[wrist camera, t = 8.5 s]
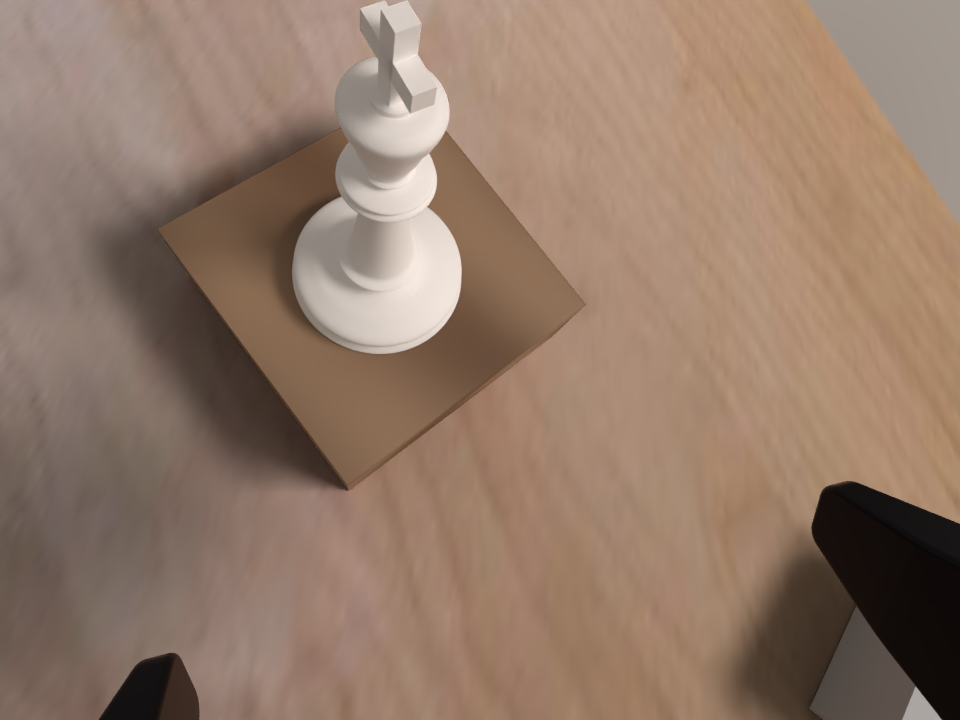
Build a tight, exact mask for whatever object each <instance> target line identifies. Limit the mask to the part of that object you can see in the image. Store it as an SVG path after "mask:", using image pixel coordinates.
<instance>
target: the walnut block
mask: <svg viewBox="0 0 960 720" xmlns="http://www.w3.org/2000/svg"><path fill="white" fill-rule="evenodd" d="M348 143H349V141H348V140H347V138H346V136H345V135H344V133H343V131H342V129H341V128H340V129H338V130H336V131H334V132H332V133H331V134H329V135H327V136H325V137H323V138H321V139H320V140H318V141H316V142H314V143H312V144H311V145H309V146H307V147H305V148H303V149H301V150H300V151H298V152H296V153H294V154H292V155H291V156H289V157H287V158H285V159H283V160H281V161H280V162H278V163H276V164H274V165H272V166H271V167H269V168H267V169H265V170H263V171H261V172H260V173H258V174H256V175H254V176H252V177H251V178H249V179H247V180H245V181H243V182H241V183H240V184H238V185H236V186H234V187H232V188H231V189H229V190H227V191H225V192H223V193H222V194H220V195H218V196H216V197H214V198H212V199H211V200H209V201H207V202H205V203H203V204H202V205H200V206H198V207H196V208H194V209H192V210H191V211H189V212H187V213H185V214H183V215H182V216H180V217H178V218H176V219H174V220H172V221H171V222H169V223H167V224H165V225H163V226H162V227H160V228H158V229H157V230H158V231H159V233H160V234H161V236H162V237H163V239H164V240H165V242H166V243H167V245H168V246H169V248H170V249H171V250H172V252H173V253H174V255H175V256H176V258H177V259H178V261H179V262H180V264H181V265H182V267H183V268H184V270H185V271H186V273H187V274H188V275H189V277H190V278H191V280H192V281H193V282H194V284H195V285H196V286H197V288H198V289H199V290H200V292H201V293H202V294H203V296H204V297H205V298H206V300H207V301H208V302H209V304H210V305H211V306H212V308H213V309H214V310H215V312H216V313H217V315H218V316H219V317H220V319H221V320H222V321H223V323H224V324H225V325H226V327H227V328H228V329H229V331H230V332H231V333H232V335H233V336H234V337H235V339H236V340H237V341H238V343H239V344H240V345H241V347H242V348H243V349H244V351H245V352H246V354H247V355H248V356H249V358H250V359H251V360H252V362H253V363H254V364H255V366H256V367H257V368H258V370H259V371H260V372H261V374H262V375H263V376H264V378H265V379H266V380H267V382H268V383H269V384H270V386H271V387H272V388H273V390H274V391H275V393H276V394H277V395H278V397H279V398H280V399H281V401H282V402H283V403H284V405H285V406H286V407H287V409H288V410H289V411H290V413H291V414H292V415H293V417H294V418H295V419H296V421H297V422H298V423H299V425H300V426H301V428H302V429H303V430H304V432H305V433H306V434H307V436H308V437H309V438H310V440H311V441H312V442H313V444H314V445H315V446H316V448H317V449H318V450H319V452H320V453H321V454H322V456H323V457H324V458H325V460H326V461H327V462H328V464H329V465H330V467H331V468H332V469H333V471H334V472H335V473H336V475H337V476H338V477H339V479H340V480H341V481H342V483H343V484H344V485H345V487H346V488H347V489H348V491H349V490H351V489H352V488H353V487H355V486H356V485H357V484H359V483H360V482H361V481H363V480H364V479H365V478H366V477H368V476H369V475H370V474H372V473H373V472H374V471H376V470H377V469H378V468H380V467H381V466H382V465H384V464H385V463H386V462H388V461H389V460H390V459H391V458H393V457H394V456H395V455H397V454H398V453H399V452H401V451H402V450H403V449H405V448H406V447H407V446H409V445H410V444H411V443H413V442H414V441H415V440H416V439H418V438H419V437H420V436H422V435H423V434H424V433H426V432H427V431H428V430H430V429H431V428H432V427H434V426H435V425H436V424H438V423H439V422H440V421H441V420H443V419H444V418H445V417H447V416H448V415H449V414H451V413H452V412H453V411H455V410H456V409H457V408H459V407H460V406H461V405H463V404H464V403H465V402H466V401H468V400H469V399H470V398H472V397H473V396H474V395H476V394H477V393H478V392H480V391H481V390H482V389H484V388H485V387H486V386H488V385H489V384H490V383H491V382H493V381H494V380H495V379H497V378H498V377H499V376H501V375H502V374H503V373H505V372H506V371H507V370H509V369H510V368H511V367H513V366H514V365H515V364H516V363H518V362H519V361H520V360H522V359H523V358H524V357H526V356H527V355H528V354H530V353H531V352H532V351H534V350H535V349H536V348H538V347H539V346H540V345H541V344H543V343H544V342H545V341H547V340H548V339H549V338H551V337H552V336H553V335H554V334H555V333H556V332H557V331H558V330H559V329H561V328H562V327H563V326H564V325H565V324H566V323H567V322H568V321H569V320H570V319H571V318H572V317H573V316H574V315H575V314H576V313H577V312H578V311H579V310H581V309H582V308H583V307H584V306H585V305H586V304H585V303H584V301H583V300H582V299H581V298H580V296H579V295H578V294H577V293H576V291H575V290H574V289H573V288H572V286H571V285H570V284H569V283H568V281H567V280H566V279H565V278H564V277H563V275H562V274H561V273H560V272H559V270H558V269H557V268H556V267H555V265H554V264H553V263H552V262H551V260H550V259H549V258H548V257H547V255H546V254H545V253H544V252H543V250H542V249H541V248H540V247H539V246H538V244H537V243H536V242H535V241H534V239H533V238H532V237H531V236H530V234H529V233H528V232H527V231H526V229H525V228H524V227H523V226H522V224H521V223H520V222H519V221H518V219H517V218H516V217H515V216H514V215H513V213H512V212H511V211H510V210H509V208H508V207H507V206H506V205H505V203H504V202H503V201H502V200H501V198H500V197H499V196H498V195H497V193H496V192H495V191H494V190H493V189H492V187H491V186H490V185H489V184H488V182H487V181H486V180H485V179H484V177H483V176H482V175H481V174H480V172H479V171H478V170H477V169H476V167H475V166H474V165H473V164H472V162H471V161H470V160H469V159H468V158H467V156H466V155H465V154H464V153H463V151H462V150H461V149H460V148H459V146H458V145H457V144H456V143H455V141H454V140H453V139H452V138H451V136H450V135H449V134H448V133H447V131H445V133H444V135H443V137H442V138H441V140H440V141H439V142H438V144H437V145H436V146H435V147H434V148H433V150H432V151H431V152H430V153H429V154H430V156H431V158H432V160H433V163H434V166H435V169H436V174H437V187H436V192H435V195H434V197H433V199H432V201H431V202H430V204H429V205H428V206H427V207H428V208H429V209H431V210H432V211H433V212H434V213H435V214H436V215H437V216H438V217H439V218H440V219H441V220H442V221H443V222H444V223H445V225H446V226H447V227H448V229H449V230H450V232H451V234H452V236H453V237H454V239H455V242H456V244H457V247H458V250H459V254H460V258H461V266H462V276H461V289H460V295H459V298H458V302H457V304H456V307H455V309H454V311H453V313H452V315H451V316H450V318H449V319H448V321H447V322H446V323H445V325H444V326H443V327H442V328H441V329H440V330H439V331H438V332H437V333H436V334H435V335H434V336H432V337H431V338H430V339H428V340H427V341H425V342H423V343H422V344H420V345H418V346H415V347H413V348H411V349H408V350H405V351H401V352H396V353H389V354H370V353H363V352H358V351H355V350H351V349H348V348H346V347H343V346H341V345H339V344H337V343H335V342H333V341H332V340H330V339H329V338H327V337H326V336H324V335H323V334H322V333H321V332H320V331H318V330H317V329H316V328H315V327H314V326H313V324H312V323H311V322H310V321H309V320H308V318H307V317H306V316H305V314H304V312H303V311H302V309H301V307H300V305H299V303H298V300H297V298H296V295H295V291H294V287H293V280H292V266H293V258H294V251H295V247H296V244H297V241H298V238H299V236H300V234H301V232H302V230H303V228H304V227H305V225H306V224H307V222H308V221H309V220H310V219H311V217H312V216H313V215H314V214H315V213H316V212H317V211H318V210H320V209H321V208H322V207H323V206H325V205H326V204H328V203H329V202H331V201H333V200H335V199H337V198H339V197H341V194H340V192H339V190H338V187H337V184H336V178H335V171H336V164H337V161H338V158H339V156H340V154H341V153H342V151H343V149H344V148H345V146H346V145H347V144H348Z"/></svg>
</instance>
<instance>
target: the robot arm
mask: <svg viewBox="0 0 960 720" xmlns="http://www.w3.org/2000/svg"><path fill="white" fill-rule="evenodd" d="M811 529H812V535H813V538H814V541H815V543H816V545H817V546H818V548H819V549H820V551H821V552H822V554H823V555H824V557H825V558H826V560H827V561H828V563H829V565H830V566H831V568H832V569H833V571H834V572H835V574H836V575H837V577H838V578H839V580H840V581H841V583H842V584H843V586H844V588H845V589H846V591H847V592H848V594H849V595H850V597H851V598H852V600H853V601H854V603H855V604H856V606H857V608H858V609H859V611H860V612H861V614H862V615H863V617H864V618H865V620H866V621H867V623H868V624H869V626H870V627H871V629H872V630H873V631H874V633H875V634H876V636H877V637H878V638H879V640H880V641H881V642H882V644H883V645H884V646H885V648H886V649H887V650H888V652H889V653H890V654H891V656H892V657H893V658H894V659H895V661H896V662H897V663H898V665H899V666H900V667H901V668H902V670H903V671H904V672H905V673H906V675H907V676H908V677H909V679H910V680H911V681H912V682H913V684H914V685H915V686H916V688H917V689H918V690H919V691H920V693H921V694H922V695H923V696H924V698H925V699H926V700H927V702H928V703H929V704H930V705H931V707H932V708H933V709H934V710H935V712H936V713H937V714H938V716H939V717H940V718H941V719H942V720H960V524H959V523H956V522H954V521H951V520H949V519H946V518H944V517H942V516H939V515H937V514H934V513H932V512H929V511H927V510H924V509H922V508H919V507H917V506H914V505H912V504H909V503H907V502H904V501H902V500H899V499H897V498H894V497H892V496H889V495H887V494H884V493H882V492H879V491H877V490H874V489H872V488H869V487H867V486H864V485H862V484H859V483H857V482H853V481H846V482H841V483H837V484H833V485H829V486H827V487H825V488H824V489H823V490H822V492H821V494H820V498H819V501H818V505H817V508H816V512H815V515H814V519H813V522H812V527H811ZM99 720H199V702H198V696H197V693H196V690H195V688H194V686H193V684H192V681H191V679H190V677H189V675H188V673H187V670H186V668H185V666H184V664H183V662H182V660H181V658H180V657H179V655H177V654H176V653H168V654H164V655H160V656H156V657H152V658H148V659H145V660H142V661H141V662H139V663H138V664H137V665H136V666H135V667H134V669H133V670H132V671H131V673H130V674H129V676H128V677H127V679H126V680H125V682H124V683H123V685H122V686H121V687H120V689H119V690H118V692H117V693H116V695H115V696H114V698H113V699H112V701H111V702H110V704H109V705H108V707H107V708H106V709H105V711H104V712H103V714H102V715H101V717H100V718H99Z"/></svg>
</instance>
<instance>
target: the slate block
mask: <svg viewBox="0 0 960 720" xmlns="http://www.w3.org/2000/svg"><path fill="white" fill-rule="evenodd" d="M809 709H810V710H811V711H813V712H814V713H815V714H817V715H818V716H819V717H820V718H822V719H823V720H942V719H941V718H940V717H939V716H938V714H937V713H936V712H935V710H934V709H933V708H932V707H931V705H930V704H929V703H928V702H927V700H926V699H925V698H924V696H923V695H922V694H921V693H920V691H919V690H918V689H917V688H916V686H915V685H914V684H913V682H912V681H911V680H910V679H909V677H908V676H907V675H906V673H905V672H904V671H903V670H902V668H901V667H900V666H899V665H898V663H897V662H896V661H895V659H894V658H893V657H892V656H891V654H890V653H889V652H888V650H887V649H886V648H885V646H884V645H883V644H882V642H881V641H880V640H879V638H878V637H877V636H876V634H875V633H874V631H873V630H872V629H871V627H870V626H869V624H868V623H867V621H866V620H865V618H864V617H863V615H862V614H861V612H860V611H859V609H858V608H857V606H856V607H855V610H854V612H853V614H852V616H851V618H850V621H849V623H848V625H847V627H846V629H845V632H844V634H843V636H842V638H841V640H840V643H839V645H838V647H837V649H836V651H835V653H834V656H833V658H832V660H831V662H830V664H829V667H828V669H827V671H826V673H825V675H824V678H823V680H822V682H821V684H820V686H819V689H818V691H817V693H816V695H815V697H814V700H813V702H812V704H811V706H810V708H809Z"/></svg>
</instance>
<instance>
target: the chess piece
mask: <svg viewBox="0 0 960 720" xmlns="http://www.w3.org/2000/svg"><path fill="white" fill-rule="evenodd" d="M360 30H361V32H362V34H363V35H364V37H365V39H366V40H367V42H368V44H369V45H370V47H371V49H372V50H373V52H374V54H375V55H376V56H375V57H371V58H367V59H365V60H362V61H360V62H358V63H357V64H355V65H354V66H352V67H351V68H350V69H349V70H348V71H347V72H346V73H345V74H344V75H343V77H342V78H341V80H340V82H339V84H338V86H337V89H336V93H335V112H336V117H337V120H338V123H339V125H340V127H341V129H342V131H343V133H344V135H345V136H346V138H347V140H348V141H349V143H348V144H347V145H346V146H345V148H344V149H343V151H342V153H341V154H340V156H339V158H338V161H337V164H336V171H335V178H336V184H337V187H338V190H339V192H340V194H341V197H339V198H337V199H335V200H333V201H331V202H329V203H328V204H326V205H325V206H323V207H322V208H321V209H320V210H318V211H317V212H316V213H315V214H314V215H313V216H312V217H311V219H310V220H309V221H308V222H307V224H306V225H305V227H304V228H303V230H302V232H301V234H300V236H299V238H298V241H297V244H296V247H295V251H294V258H293V266H292V280H293V287H294V291H295V295H296V298H297V300H298V303H299V305H300V307H301V309H302V311H303V312H304V314H305V316H306V317H307V318H308V320H309V321H310V322H311V323H312V324H313V326H314V327H315V328H316V329H317V330H318V331H320V332H321V333H322V334H323V335H324V336H326V337H327V338H329V339H330V340H332V341H333V342H335V343H337V344H339V345H341V346H343V347H346V348H348V349H351V350H355V351H358V352H363V353H370V354H389V353H396V352H401V351H405V350H408V349H411V348H413V347H415V346H418V345H420V344H422V343H423V342H425V341H427V340H428V339H430V338H431V337H432V336H434V335H435V334H436V333H437V332H438V331H439V330H440V329H441V328H442V327H443V326H444V325H445V323H446V322H447V321H448V319H449V318H450V316H451V315H452V313H453V311H454V309H455V307H456V304H457V302H458V298H459V295H460V289H461V276H462V266H461V258H460V254H459V250H458V247H457V244H456V242H455V239H454V237H453V236H452V234H451V232H450V230H449V229H448V227H447V226H446V225H445V223H444V222H443V221H442V220H441V219H440V218H439V217H438V216H437V215H436V214H435V213H434V212H433V211H432V210H431V209H429V208H428V207H427V206H428V205H429V204H430V202H431V201H432V199H433V197H434V195H435V192H436V187H437V174H436V169H435V166H434V163H433V160H432V158H431V156H430V154H429V153H430V152H431V151H432V150H433V148H434V147H435V146H436V145H437V144H438V142H439V141H440V140H441V138H442V137H443V135H444V133H445V131H446V128H447V125H448V121H449V102H448V98H447V95H446V93H445V91H444V89H443V87H442V85H441V84H440V82H439V81H438V79H437V78H436V77H435V76H434V75H433V74H432V73H431V72H430V71H429V70H427V69H426V67H425V66H424V64H423V62H422V61H421V59H420V57H419V56H418V48H419V40H420V32H421V22H420V21H419V19H418V17H417V16H416V14H415V12H414V11H413V9H412V7H411V6H410V4H409V3H408V1H404V2H401V3H398V4H395V5H392V6H388V5H387V3H386V1H382V2H379V3H375V4H372V5H369V6H366V7H363V8H360Z"/></svg>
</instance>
